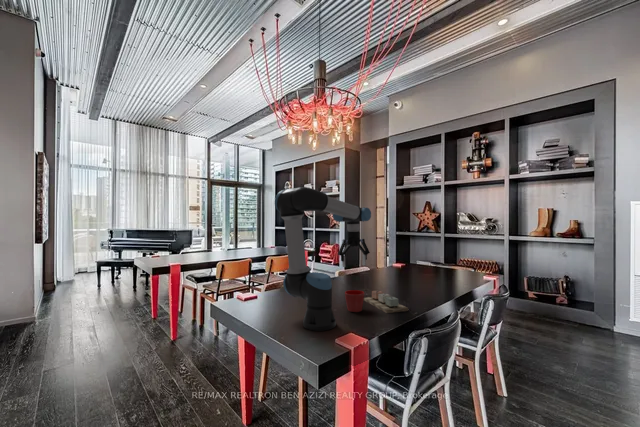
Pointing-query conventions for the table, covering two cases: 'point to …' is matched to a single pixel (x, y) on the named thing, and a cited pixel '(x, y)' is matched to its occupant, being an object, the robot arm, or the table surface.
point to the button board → (385, 307)
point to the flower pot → (354, 300)
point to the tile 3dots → (376, 294)
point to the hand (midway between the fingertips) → (354, 266)
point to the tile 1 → (382, 297)
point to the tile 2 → (391, 301)
